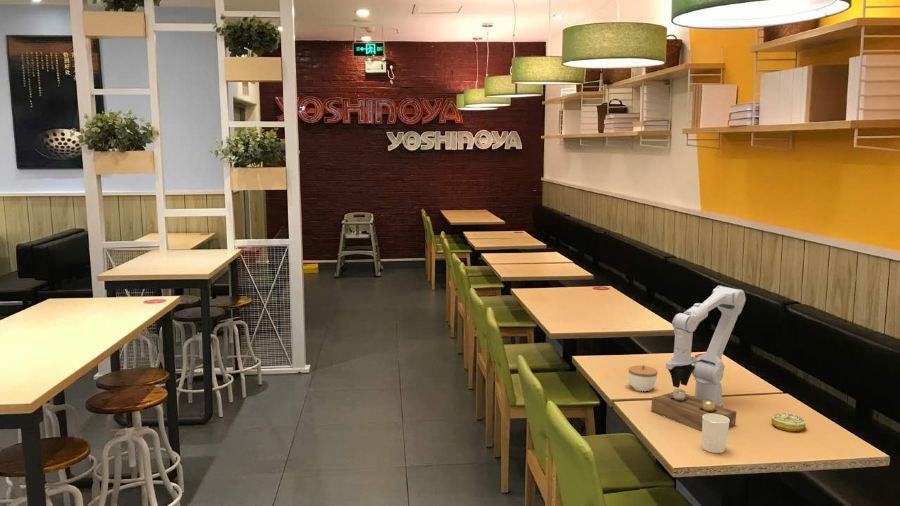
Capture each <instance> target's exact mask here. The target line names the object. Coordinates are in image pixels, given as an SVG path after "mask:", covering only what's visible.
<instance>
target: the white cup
mask: <svg viewBox="0 0 900 506" xmlns="http://www.w3.org/2000/svg"><path fill="white" fill-rule="evenodd" d="M729 421H730V420H729V418H727V417H725V416H723V415H719V414H705V415H703V416H702V431H701V441H702V443H701V448H702V449H703V450H705V451H706V452H709V453H712V454H722V453H724V452H725V451H726V446H727V445H726V444H727V440H728V435H729V429H730V428H729Z"/></svg>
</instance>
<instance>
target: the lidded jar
mask: <svg viewBox="0 0 900 506" xmlns="http://www.w3.org/2000/svg"><path fill="white" fill-rule="evenodd" d="M658 374H659V373H658V370H657V369H656V368H654V367H651V366H646V365H645V364H642V365H633V366H629V368H628V380H629V384H630V385H631V388H632V387H633V390H634V391H637V392H641V391H642V392H643V391H648V392H650V391H649V390H652V389H653V388H654V386H655V385H656V382H657V379H658ZM642 392H641V393H642ZM643 393H644V392H643Z"/></svg>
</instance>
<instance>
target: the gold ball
mask: <svg viewBox="0 0 900 506" xmlns="http://www.w3.org/2000/svg"><path fill="white" fill-rule="evenodd" d="M702 411H705V412H708V413H713V412H714V411H715V401H713V400H709V399H704V400H703V403H702Z"/></svg>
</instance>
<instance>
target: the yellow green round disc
mask: <svg viewBox="0 0 900 506" xmlns="http://www.w3.org/2000/svg"><path fill="white" fill-rule="evenodd" d="M770 420H771V423H772V425H773V426H774V427H775V428H776V429H778V430H781V431H784V430H785V431H784V432H789V431H797V432H802V431H803V430H804V429H805V427H806V426H807V423H806V420H804V419H803V418H802V417H801V416H798V415H796V414H793V413H789V412H788V413H785V412H783V413H781V412H780V413H775V414H773V415H771V419H770Z"/></svg>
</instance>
